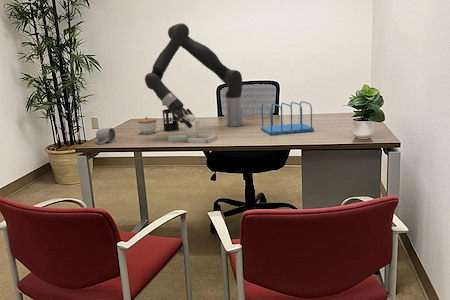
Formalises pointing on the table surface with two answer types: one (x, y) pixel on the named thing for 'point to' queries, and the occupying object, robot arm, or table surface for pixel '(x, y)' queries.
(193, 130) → the figurine
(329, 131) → the table surface
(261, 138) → the table surface
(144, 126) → the lidded jar
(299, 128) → the file sorter
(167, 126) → the french press
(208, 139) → the holder
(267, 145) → the table surface
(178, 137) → the mat
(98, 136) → the ceramic mug
